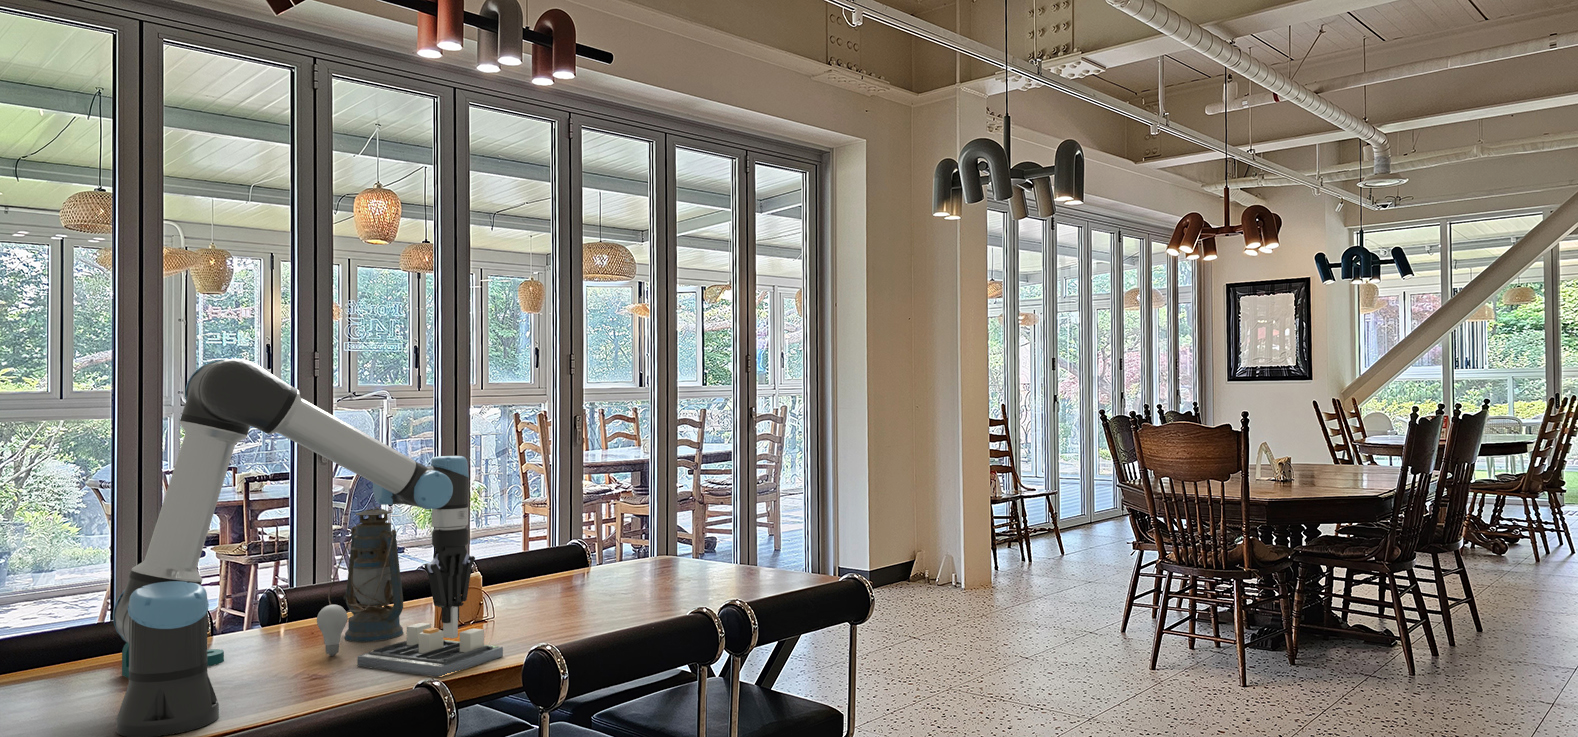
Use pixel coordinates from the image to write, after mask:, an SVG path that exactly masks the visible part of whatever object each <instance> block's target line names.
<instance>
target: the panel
mask: <svg viewBox="0 0 1578 737" xmlns="http://www.w3.org/2000/svg"><path fill="white" fill-rule="evenodd" d="M502 657H504V647H503V646H499V645H490V644H484V646H483V647H480V648H477V649H473V650H470V651H467V652H460V641H458V640H457V641H456V640H448V639H443V647H442V648H439V649H436V650H432V651H429V652H426V653H419V643H418V644H415V645H407V639H406V640H403V641H400V642H396V643H392V644H389V645H386V646H383V647H378V648H376V649H373V650H371V651H368V652H367V653H363V654H359V655H357V656H356V659H357V662H356V664H357V665H356V666H358V667H363V668H371V669H377V670H384V671H390V672H400V673H405V674H406V673H407V674H411V675H412V674H414V675H419V676H420V675H422V676H429V677H435V678H439V677H438V676H442V675H445V674H447V673H451V672H455V671H459V670H462V669H464V670H466V668H467V669H470V668H473V667H477V666H478V665H481V664H485V663H487V662H490V661H493V660H496V659H499V658H502ZM469 667H470V668H469ZM462 671H463V670H462ZM459 672H460V671H459Z"/></svg>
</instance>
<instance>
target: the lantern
mask: <svg viewBox="0 0 1578 737" xmlns="http://www.w3.org/2000/svg"><path fill="white" fill-rule="evenodd" d="M392 513H393V512H392V511H390V510H389V511H388V510H386V509H384V508H383V509H382V508H381V509H380V506H375V507H373V508H371V509H366V510H363V511H361V512H356V513H355V515H356V516H359V523H358V524H356V525H355V526H353V527H351V530H350V531H351V534H350V537H349V539H348V542H347V544H346V546H345V549H344V550H343V552H342V555H341V558H340V560H339V562H338V565H337V568H336V571H335V573H334V576H333V577H332V578H333V579H332V582H331V583H330V585H329V586H330V587H329V591H328V597H327V599H328V602H329V605H333V604H332V602H331V600H330V599H331V592H332V589H333V585H334V582H335V579H336V577H337V574H338V571H339V568H340V565H341V564H342V560H343V558H344V556H345V553H346V551H347V549H348V547H349V544H350V551H349V552H350V553H349V561H348V570H347V572H348V573H347V581H346V582H347V583H346V589H345V595H343V600H345V603H346V606H347V608H348V610H347V611H346V610H345V611H346V613H347V614H348V613H350V612H351V614H352V616H350V617H348V619H347V622H348V624H347V625H348V629H347V630H346V631H345V632H344V640H346V641H348V642H356V643H362V642H365V643H367V642H368V643H369V642H376V641H377V642H378V641H385V640H391V639H394V638H398V637H400V636H402V635H403V634H404V632H403V631H404V630H403V629H404V627H403V626H402V625H401V624H400V623H401V622H400V617H401V614H402V612H403V609H404V596H403V585H402V579H401V578H402V577H401V569H400V560H399V552H398V548H399V547H398V542H397V535H398V534H397V530H396V529H392V523H391V522H388V521H389V517H388V516H389V515H388V514H392ZM366 516H367V518H365V517H366ZM380 516H383V517H380ZM386 521H387V522H386ZM358 602H359V603H358ZM392 603H393V604H392ZM390 604H392V605H390Z"/></svg>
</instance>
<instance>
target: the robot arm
mask: <svg viewBox="0 0 1578 737" xmlns="http://www.w3.org/2000/svg"><path fill="white" fill-rule="evenodd" d="M184 396H185V404H184V406H183V409H182V413H181V416H180V419H179V424H180V426H181V428H182V429H183V431H184V437H183V440H182V443H181V446H180V449H179V452H178V455H177V458H176V462H175V465H174V467H173V471H172V473H171V476H170V479H169V484H168V487H167V490H166V493H165V496H164V499H163V502H162V505H161V508H160V511H159V514H158V518H157V521H156V523H155V526H154V530H153V532H152V537H151V540H150V542H149V546H148V548H147V551H146V554H145V558H144V560H143V561H142V562H140V563H138V564H137V565H135V566H133V567H132V568H131V571H130V574H129V576H128V579H127V582H126V586H125V588H124V590H123V591H121V594H120V595H119V596H118V598H117V600H116V601H115V604H114V606H113V612H112V620H113V621H112V622H113V625H114V627H115V631H116V632H117V634H118V635H119V636H120V637H121V639H122V640H123V641H124V642H125V643H126V642H127V643H129V678H128V684H127V687H126V691H125V694H124V697H123V698H122V699H123V700H122V703H121V705H120V709H119V711H118V713H117V716H116V725H115V726H116V733H117V734H118V735H120V736H123V737H162V736H161V735H164V736H169V735H168V734H170V735H174V734H173V733H176V734H181V733H185V731H186V732H190V731H193V730H196V729H200V728H203V727H204V726H205V727H206V726H207V725H210V724H212V723H214V722H215V721H216V720H218V719H219V715H220V712H219V711H220V705H219V700H218V698H217V696H216V693H215V690H214V687H213V684H212V681H211V679H210V677H209V674H208V666H207V650H208V611H209V607H210V605H209V600H208V593H207V590H206V589H205V587H203V585H202V582H203V580H204V579H203V578H202V576H201V574H200V573H199V571H198V566H199V561H200V558H201V555H202V552H203V549H204V545H205V542H206V539H207V537H208V533H209V530H210V526H211V523H212V520H213V516H214V514H215V510H216V507H217V505H218V504H217V503H218V501H219V498H220V494H221V493H222V492H221V491H222V489H223V485H224V481H225V479H226V475H227V472H228V469H229V466H230V462H231V460H232V456H233V454H234V449H235V446H236V444H238V443H239V442H241V441H243V440H245V439H246V438H247V437H248V434H249V430H250V428H251V427H252V428H255V429H256V430H259V431H261V432H263V433H265V434H267V435H272V434H279V435H281V436H283V437H285V438H286V439H288V440H290V441H293V443H296V444H298V445H300V446H302V447H304V448H305V449H308V450H309V451H312V452H314V453H315V454H317V455H320V456H321V457H323V458H325V459H327V460H329V461H331V462H333V463H335V464H336V465H338V466H341V467H343V468H344V469H346V470H348V471H349V472H352V473H354V474H356V475H358V476H360V477H362V478H364V479H365V480H367V481H370V482H371V483H372V492H373V497H374V499H375V502H376V503H377V504H378V505H380V506H381V505H382V506H384V505H385V506H387V505H390V506H394V505H406V506H411V507H417V508H421V509H424V510H431V526H432V527H433V529H432V531H431V546H432V547H433V548H434V553H433V559H432V560H431V561H430V562H429V563H428V562H427V563H425V564H424V569H425V571H426V572H427V575H428V581H429V585H430V591H431V597H432V602H433V605H434V606H435V607H438V608H441V623H442V624H443V625H442V630H443V639H444V638H445V639H447V638H448V639H455V638H458V637H459V632H458V631H459V628H458V627H459V624H458V623H459V622H458V621H459V620H460V607H463V606H464V602H466V601H467V600H468V599H467V598H468V593H469V587H470V581H471V575H472V567H473V566H474V563H475V560H476V557H475V555H474V556H473V555H469V553H468V551H467V548H466V546H468V544H469V528H468V527H466V526H467V525H469V479H470V475H469V464H468V460H467V458H466V457H465V456H462V455H441V456H434V457H433V458H432V459H431V463H430V465H428V466H425V465H423V464H422V463H419V462H417V461H415V459H413V458H411V457H409V456H407V455H405V454H403V453H401V452H400V451H398V450H396V449H394V448H393V447H391V446H389V445H387V444H386V443H384V442H382V441H381V440H378V439H376V438H374V437H373V436H371V435H370V434H368V433H366V432H364V431H362V430H360V429H358V428H356V427H355V426H353V425H351V424H349V423H347V422H345V421H344V420H342V419H340V418H339V417H337V416H335V415H333V414H331V413H329V412H327V411H326V410H324V409H322V408H320V407H318V406H317V405H314V404H313V403H311V402H310V401H308V400H306V399H304V398H302V397H301V393H300V390H299V389H297V388H295V387H294V386H293V385H291V384H289V383H287V382H285V381H284V380H282V378H281V379H280V378H279V377H277V376H276V375H275V374H272V373H271V372H269V371H268V370H266V369H265V368H264V367H262V366H261V365H259V364H257V363H256V362H253V361H250V360H247V359H242V358H229V359H219V360H214V361H210V362H207V363H205V364H204V365H202V366H200V367H198V369H196V370H195V372H193V373H192V375H190V378H189V379H188V381H187V382H186V386H185V395H184ZM180 732H181V733H180ZM166 734H167V735H166Z"/></svg>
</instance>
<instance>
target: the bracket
mask: <svg viewBox="0 0 1578 737" xmlns="http://www.w3.org/2000/svg"><path fill="white" fill-rule="evenodd" d="M224 661H225V650H223V649H220V648H219V649H218V648H217V649H216V648H212V649H211V648H210V649H207V667H211V666H216V665H219V664H222V663H224ZM121 676H123V677H124V678H127V679H129V643H127V642H126V641H125V644H124V645H123V647H122V651H121Z"/></svg>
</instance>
